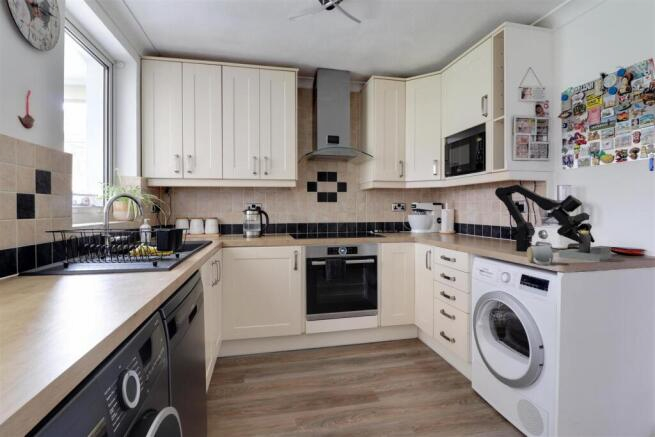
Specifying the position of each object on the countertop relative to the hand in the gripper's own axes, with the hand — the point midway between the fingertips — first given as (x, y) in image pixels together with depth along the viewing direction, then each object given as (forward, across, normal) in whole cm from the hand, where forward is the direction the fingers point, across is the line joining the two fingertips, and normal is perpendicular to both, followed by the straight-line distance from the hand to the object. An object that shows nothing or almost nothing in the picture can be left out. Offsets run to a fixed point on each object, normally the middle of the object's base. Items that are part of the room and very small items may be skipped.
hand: (588, 242), depth 148 cm
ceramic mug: (+6, -34, +5) cm, 35 cm away
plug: (+4, 0, +6) cm, 8 cm away
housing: (+4, 0, +6) cm, 8 cm away
